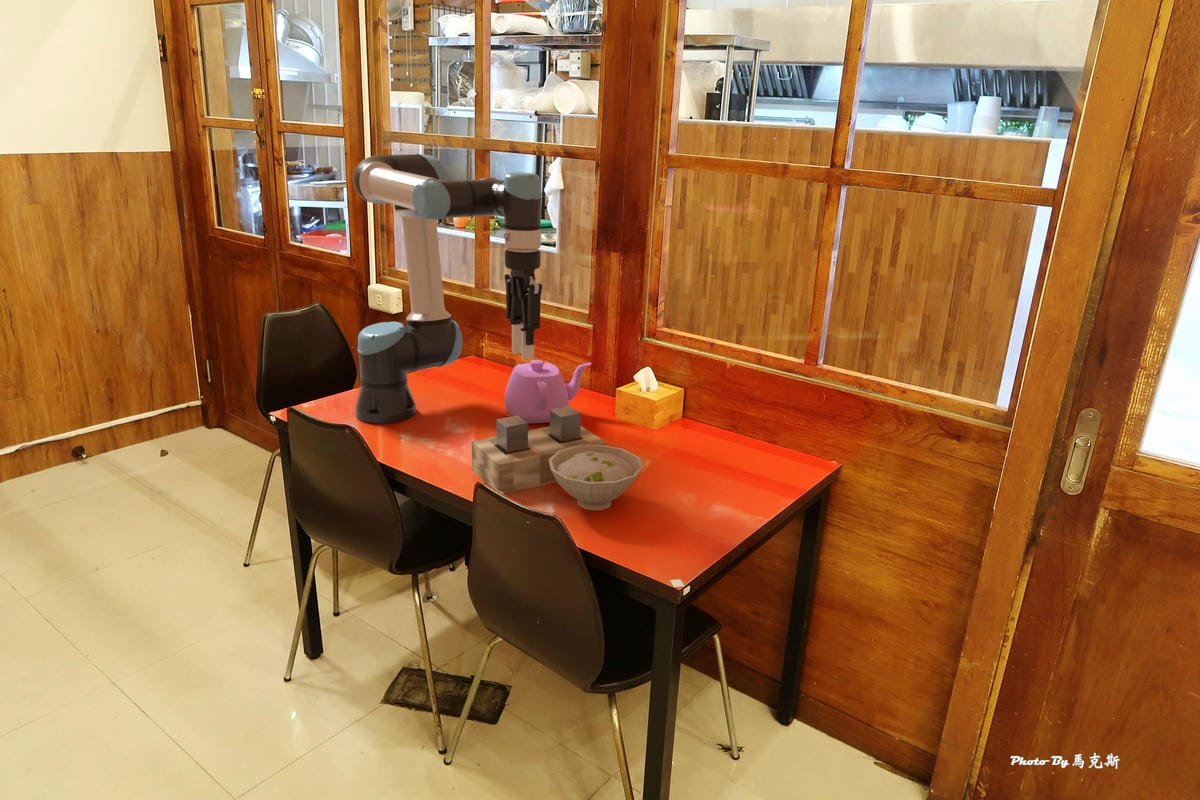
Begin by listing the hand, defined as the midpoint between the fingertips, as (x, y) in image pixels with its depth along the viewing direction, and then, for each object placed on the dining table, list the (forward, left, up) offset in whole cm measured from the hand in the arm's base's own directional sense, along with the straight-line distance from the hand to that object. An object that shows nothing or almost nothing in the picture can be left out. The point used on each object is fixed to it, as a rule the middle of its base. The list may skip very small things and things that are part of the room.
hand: (522, 355), depth 176 cm
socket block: (+8, 0, -25) cm, 26 cm away
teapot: (-23, +16, -25) cm, 38 cm away
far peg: (+8, +6, -18) cm, 21 cm away
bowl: (+27, +3, -25) cm, 37 cm away
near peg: (+8, -7, -18) cm, 21 cm away
